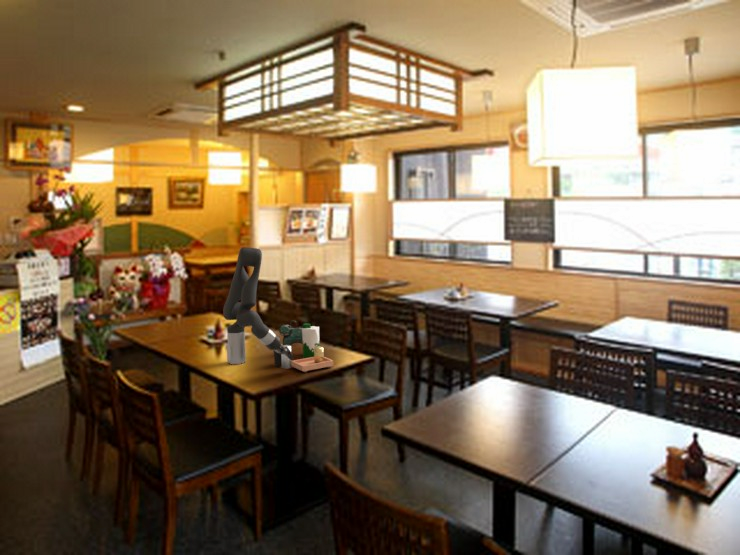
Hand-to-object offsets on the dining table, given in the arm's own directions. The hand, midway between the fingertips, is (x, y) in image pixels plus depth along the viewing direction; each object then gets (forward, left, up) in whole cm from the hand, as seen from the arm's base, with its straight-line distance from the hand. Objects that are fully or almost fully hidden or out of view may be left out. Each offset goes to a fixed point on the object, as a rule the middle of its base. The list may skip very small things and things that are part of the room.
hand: (289, 357), depth 276 cm
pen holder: (+3, +15, -8) cm, 18 cm away
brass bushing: (+17, 0, -5) cm, 18 cm away
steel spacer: (-2, 0, -5) cm, 5 cm away
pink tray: (+13, 0, -8) cm, 16 cm away
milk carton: (+21, +16, -8) cm, 28 cm away
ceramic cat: (+20, +31, -8) cm, 38 cm away
